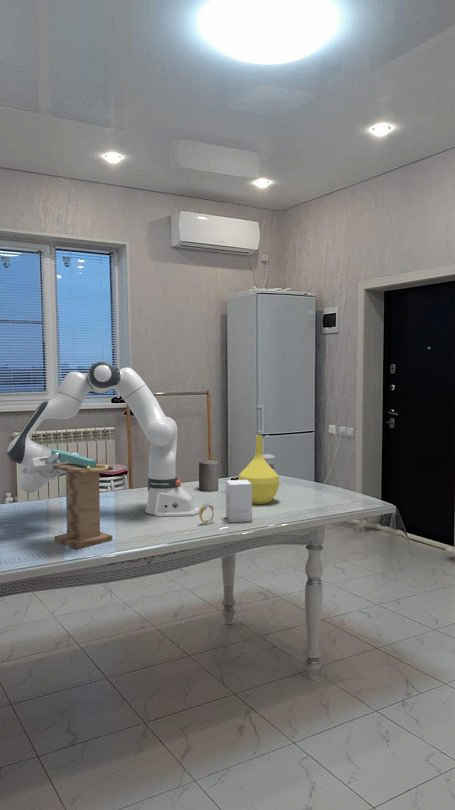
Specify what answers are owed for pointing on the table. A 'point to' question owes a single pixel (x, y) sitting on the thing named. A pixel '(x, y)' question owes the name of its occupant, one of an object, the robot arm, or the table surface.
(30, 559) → the table surface
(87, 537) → the stand
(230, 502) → the supplement box
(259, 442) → the vase
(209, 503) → the ring
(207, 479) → the pillar candle
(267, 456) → the french press
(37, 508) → the table surface
